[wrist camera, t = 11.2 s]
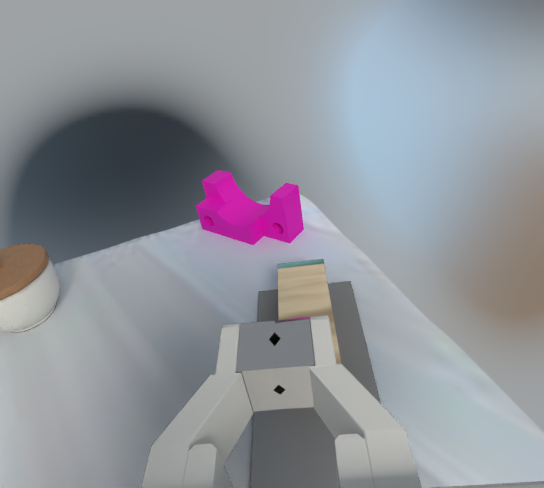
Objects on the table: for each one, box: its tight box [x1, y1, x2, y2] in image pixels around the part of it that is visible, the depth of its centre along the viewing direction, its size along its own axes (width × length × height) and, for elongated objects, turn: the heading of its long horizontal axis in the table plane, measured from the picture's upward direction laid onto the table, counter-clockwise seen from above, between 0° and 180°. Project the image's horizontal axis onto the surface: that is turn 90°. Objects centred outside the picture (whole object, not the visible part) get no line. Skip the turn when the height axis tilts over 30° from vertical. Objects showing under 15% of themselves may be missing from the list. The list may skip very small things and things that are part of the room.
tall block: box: [278, 259, 341, 364], centre depth 38 cm, size 5×5×14 cm
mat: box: [251, 281, 381, 488], centre depth 37 cm, size 22×11×1 cm, turn 0°
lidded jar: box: [0, 243, 60, 333], centre depth 48 cm, size 11×11×9 cm
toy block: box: [196, 170, 304, 245], centre depth 57 cm, size 15×6×8 cm, turn 54°
